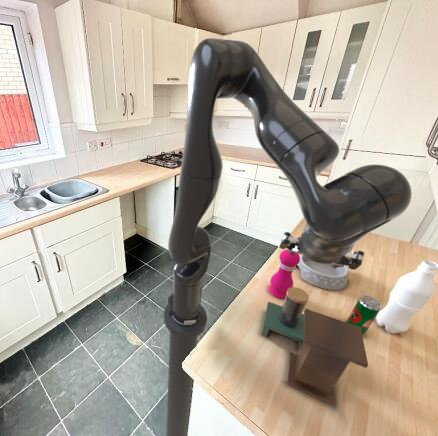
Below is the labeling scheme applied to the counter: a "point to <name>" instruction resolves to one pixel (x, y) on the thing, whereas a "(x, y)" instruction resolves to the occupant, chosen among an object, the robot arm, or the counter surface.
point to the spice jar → (293, 307)
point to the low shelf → (275, 325)
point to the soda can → (364, 312)
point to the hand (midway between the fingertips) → (312, 257)
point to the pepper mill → (284, 274)
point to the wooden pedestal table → (324, 355)
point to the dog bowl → (323, 274)
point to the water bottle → (408, 298)
